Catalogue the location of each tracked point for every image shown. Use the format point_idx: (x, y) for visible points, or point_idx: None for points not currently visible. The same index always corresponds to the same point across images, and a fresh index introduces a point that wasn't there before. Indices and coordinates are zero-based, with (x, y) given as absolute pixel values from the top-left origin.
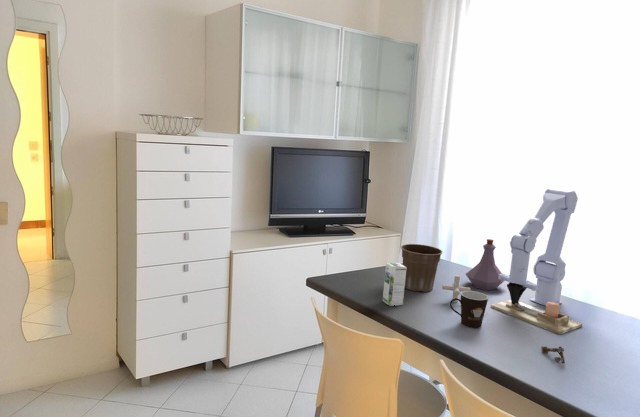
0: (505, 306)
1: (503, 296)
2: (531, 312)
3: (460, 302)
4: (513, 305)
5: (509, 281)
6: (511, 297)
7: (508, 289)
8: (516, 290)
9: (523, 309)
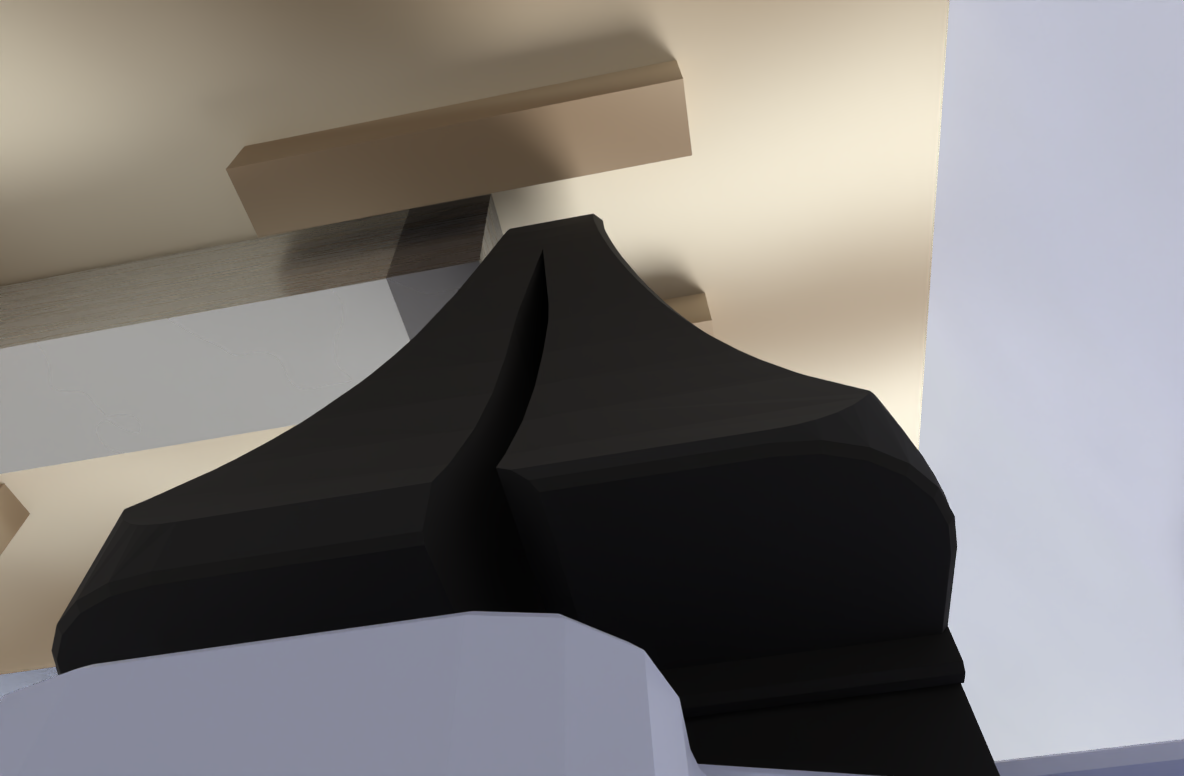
0: (663, 44)
1: (1149, 515)
2: (45, 297)
3: None
4: None
5: (454, 664)
6: (594, 271)
7: (753, 357)
8: (267, 469)
9: (248, 258)
